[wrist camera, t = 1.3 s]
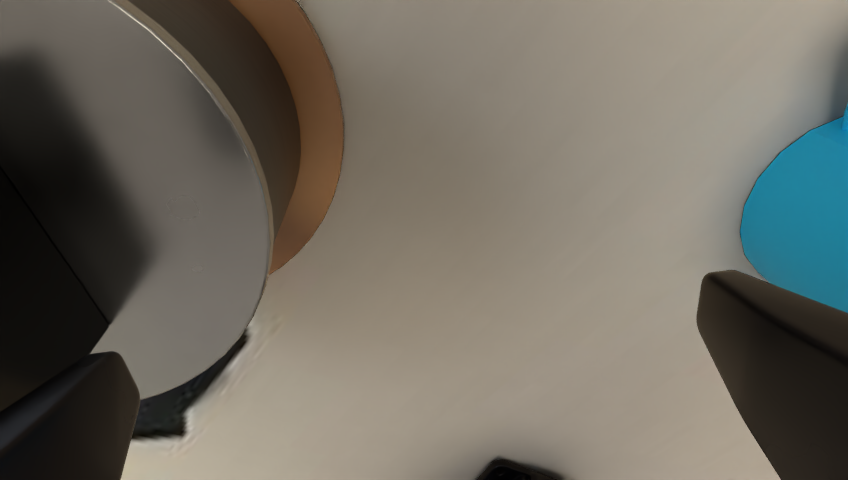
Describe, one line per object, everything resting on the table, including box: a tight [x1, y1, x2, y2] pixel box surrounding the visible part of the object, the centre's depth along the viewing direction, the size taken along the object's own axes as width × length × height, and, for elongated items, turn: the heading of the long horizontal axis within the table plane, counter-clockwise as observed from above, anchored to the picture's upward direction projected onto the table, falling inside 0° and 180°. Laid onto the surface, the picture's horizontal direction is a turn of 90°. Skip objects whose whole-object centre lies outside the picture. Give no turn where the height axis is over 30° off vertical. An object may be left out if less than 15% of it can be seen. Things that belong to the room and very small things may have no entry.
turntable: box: [228, 0, 344, 275], centre depth 20 cm, size 15×15×1 cm
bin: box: [0, 0, 301, 412], centre depth 15 cm, size 12×12×11 cm
